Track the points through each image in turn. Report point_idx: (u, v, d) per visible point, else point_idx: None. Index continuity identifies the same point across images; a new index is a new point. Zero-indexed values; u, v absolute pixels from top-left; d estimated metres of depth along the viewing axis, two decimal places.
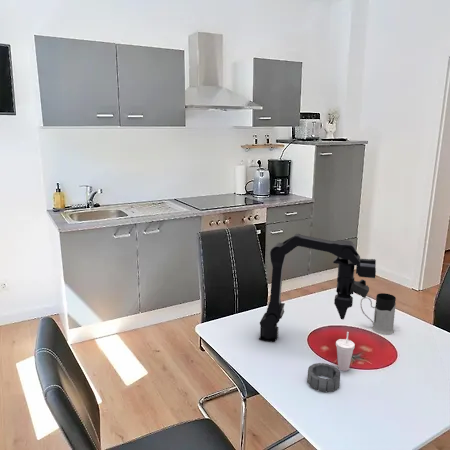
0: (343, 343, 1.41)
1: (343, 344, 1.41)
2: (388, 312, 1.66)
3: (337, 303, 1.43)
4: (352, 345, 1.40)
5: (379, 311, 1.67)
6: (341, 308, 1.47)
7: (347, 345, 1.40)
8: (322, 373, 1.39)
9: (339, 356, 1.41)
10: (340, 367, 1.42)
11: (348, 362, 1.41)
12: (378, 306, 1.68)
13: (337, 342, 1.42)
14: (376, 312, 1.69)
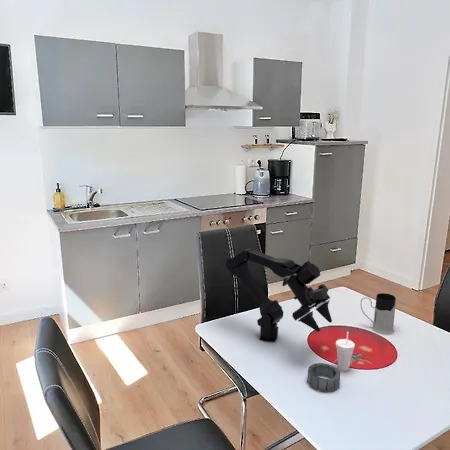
0: (343, 343, 1.41)
1: (343, 344, 1.41)
2: (388, 312, 1.66)
3: (295, 318, 1.43)
4: (352, 345, 1.40)
5: (379, 311, 1.67)
6: (308, 321, 1.44)
7: (347, 345, 1.40)
8: (322, 373, 1.39)
9: (339, 356, 1.41)
10: (340, 367, 1.42)
11: (348, 362, 1.41)
12: (378, 306, 1.68)
13: (337, 342, 1.42)
14: (376, 312, 1.69)
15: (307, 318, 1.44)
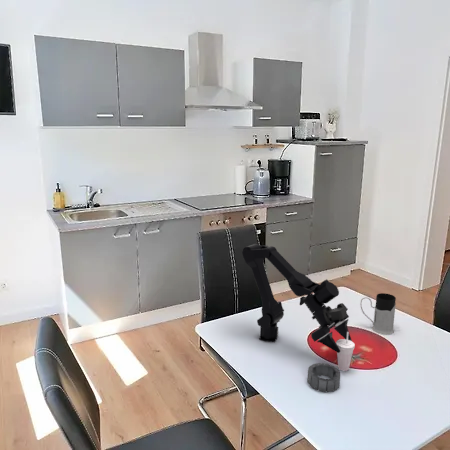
0: (343, 343, 1.41)
1: (343, 344, 1.41)
2: (388, 312, 1.66)
3: (314, 339, 1.39)
4: (352, 345, 1.40)
5: (379, 311, 1.67)
6: (328, 342, 1.39)
7: (347, 345, 1.40)
8: (322, 373, 1.39)
9: (339, 356, 1.41)
10: (340, 367, 1.42)
11: (348, 362, 1.41)
12: (378, 306, 1.68)
13: (337, 342, 1.42)
14: (376, 312, 1.69)
15: (326, 339, 1.40)
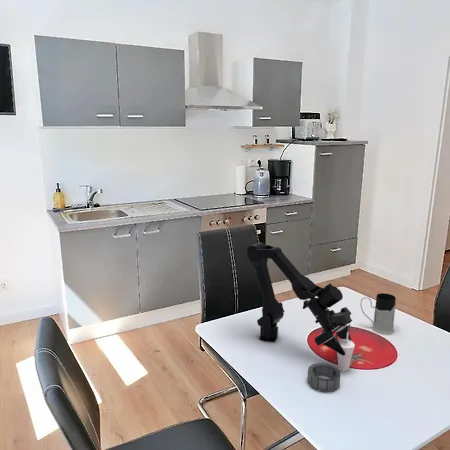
0: (343, 343, 1.41)
1: (343, 344, 1.41)
2: (388, 312, 1.66)
3: (318, 343, 1.38)
4: (352, 345, 1.40)
5: (379, 311, 1.67)
6: (333, 345, 1.40)
7: (347, 345, 1.40)
8: (322, 373, 1.39)
9: (339, 356, 1.41)
10: (340, 367, 1.42)
11: (348, 362, 1.41)
12: (378, 306, 1.68)
13: None
14: (376, 312, 1.69)
15: (332, 342, 1.40)
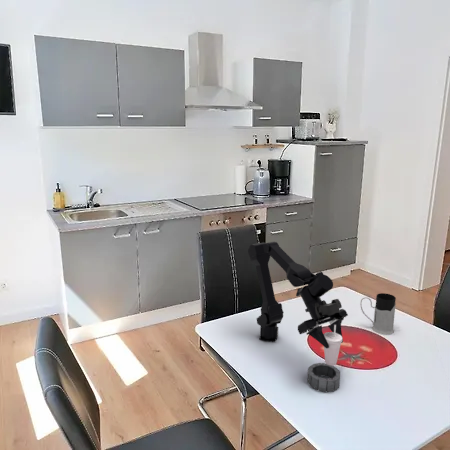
0: (330, 336, 1.34)
1: (329, 337, 1.33)
2: (388, 312, 1.66)
3: (299, 332, 1.33)
4: (339, 339, 1.32)
5: (379, 311, 1.67)
6: (317, 336, 1.33)
7: (333, 338, 1.32)
8: (322, 373, 1.39)
9: (325, 349, 1.34)
10: (326, 361, 1.35)
11: (334, 357, 1.33)
12: (378, 306, 1.68)
13: (324, 334, 1.35)
14: (376, 312, 1.69)
15: (316, 332, 1.33)
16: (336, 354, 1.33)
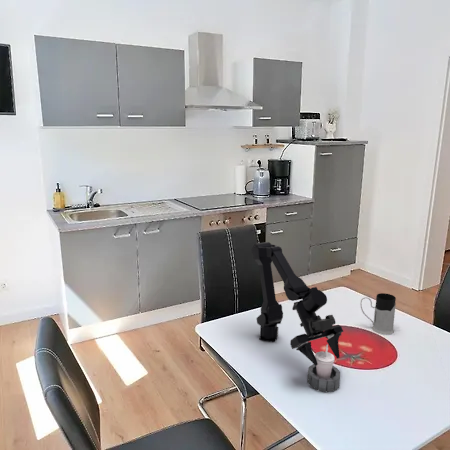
0: (322, 355, 1.33)
1: (321, 356, 1.33)
2: (388, 312, 1.66)
3: (292, 346, 1.33)
4: (330, 359, 1.31)
5: (379, 311, 1.67)
6: (306, 352, 1.32)
7: (325, 358, 1.32)
8: None
9: (317, 368, 1.34)
10: None
11: (325, 377, 1.33)
12: (378, 306, 1.68)
13: (317, 353, 1.35)
14: (376, 312, 1.69)
15: (306, 348, 1.33)
16: (328, 374, 1.33)
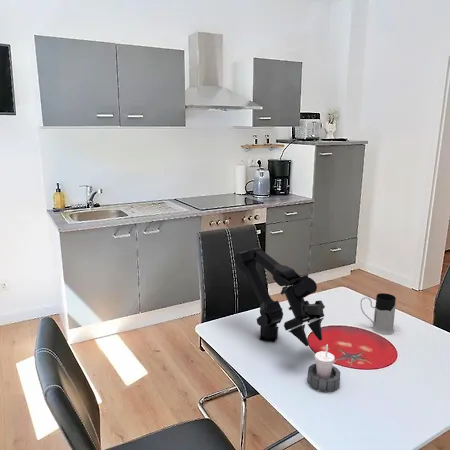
0: (322, 355, 1.33)
1: (321, 356, 1.33)
2: (388, 312, 1.66)
3: (286, 328, 1.40)
4: (330, 359, 1.31)
5: (379, 311, 1.67)
6: (298, 334, 1.41)
7: (325, 358, 1.32)
8: None
9: (317, 368, 1.34)
10: None
11: (325, 377, 1.33)
12: (378, 306, 1.68)
13: (317, 353, 1.35)
14: (376, 312, 1.69)
15: (298, 330, 1.41)
16: (328, 374, 1.33)
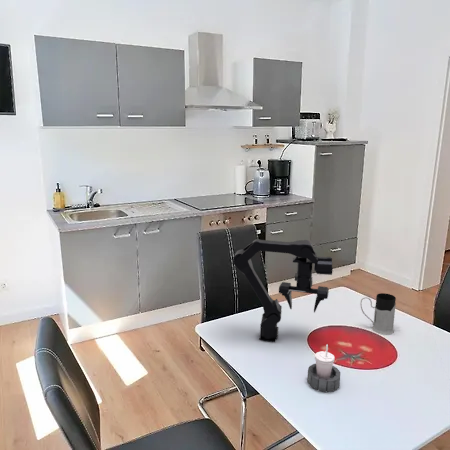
0: (322, 355, 1.33)
1: (321, 356, 1.33)
2: (388, 312, 1.66)
3: (327, 296, 1.54)
4: (330, 359, 1.31)
5: (379, 311, 1.67)
6: None
7: (325, 358, 1.32)
8: None
9: (317, 368, 1.34)
10: None
11: (325, 377, 1.33)
12: (378, 306, 1.68)
13: (317, 353, 1.35)
14: (376, 312, 1.69)
15: None
16: (328, 374, 1.33)
